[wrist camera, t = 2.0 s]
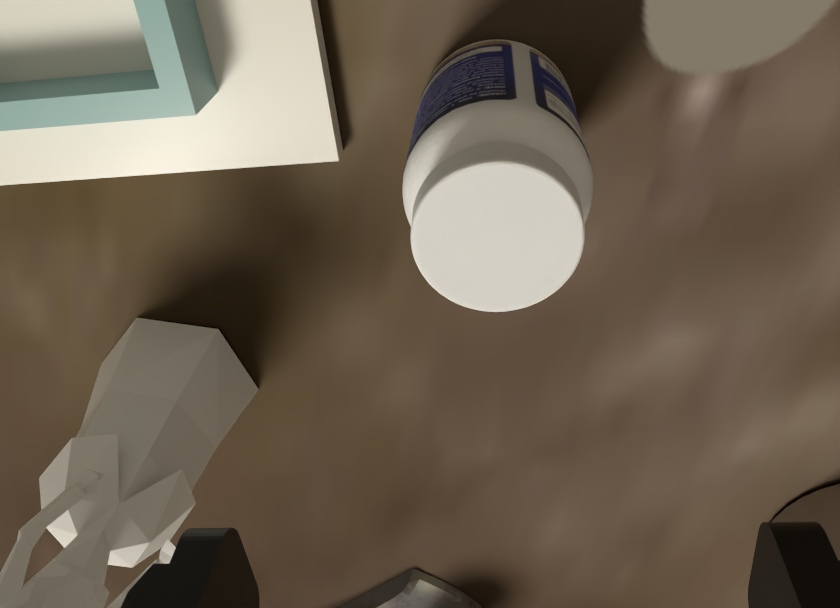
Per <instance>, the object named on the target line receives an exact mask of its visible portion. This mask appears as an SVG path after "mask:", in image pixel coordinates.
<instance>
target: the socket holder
mask: <svg viewBox="0 0 840 608" xmlns="http://www.w3.org/2000/svg"><path fill="white" fill-rule="evenodd" d="M342 153H343V147H342V141H341V135H340V130H339V124H338V118H337V112H336V106H335V101H334V95H333V89H332V83H331V77H330V72H329V66H328V60H327V54H326V48H325V43H324V37H323V31H322V25H321V19H320V14H319V8H318V2H317V0H0V185H12V184H26V183H40V182H53V181H67V180H81V179H95V178H109V177H123V176H137V175H151V174H165V173H178V172H192V171H206V170H220V169H234V168H248V167H262V166H276V165H290V164H304V163H317V162H331V161H339V159H340V157H341V155H342Z"/></svg>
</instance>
